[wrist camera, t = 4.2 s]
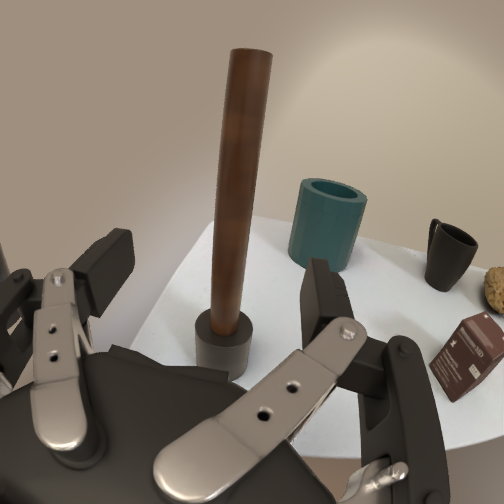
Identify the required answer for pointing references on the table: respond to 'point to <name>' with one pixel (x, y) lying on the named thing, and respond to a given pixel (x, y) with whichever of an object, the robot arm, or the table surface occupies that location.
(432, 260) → the mug
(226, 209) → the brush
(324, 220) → the jar
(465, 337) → the box
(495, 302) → the sponge
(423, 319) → the table surface
